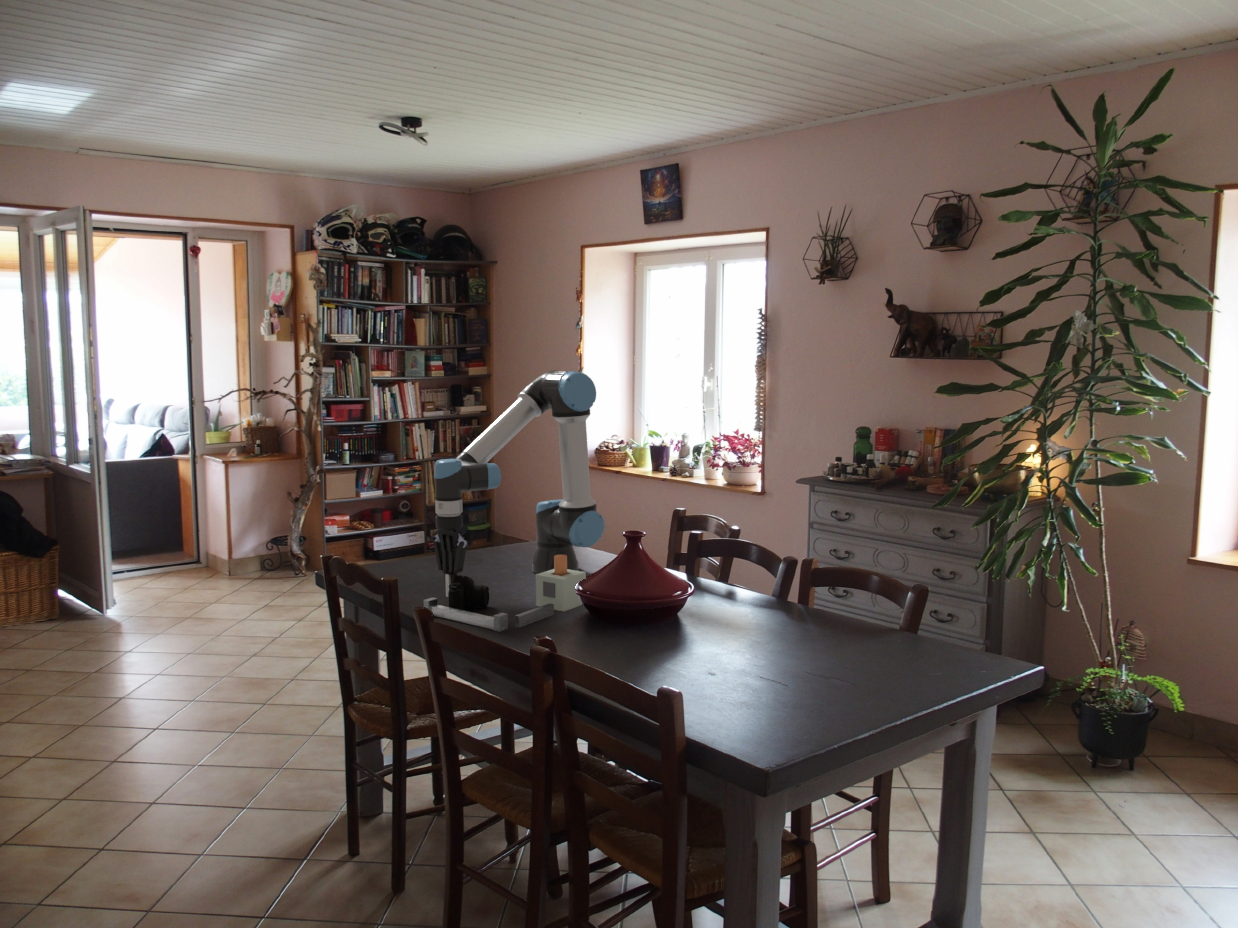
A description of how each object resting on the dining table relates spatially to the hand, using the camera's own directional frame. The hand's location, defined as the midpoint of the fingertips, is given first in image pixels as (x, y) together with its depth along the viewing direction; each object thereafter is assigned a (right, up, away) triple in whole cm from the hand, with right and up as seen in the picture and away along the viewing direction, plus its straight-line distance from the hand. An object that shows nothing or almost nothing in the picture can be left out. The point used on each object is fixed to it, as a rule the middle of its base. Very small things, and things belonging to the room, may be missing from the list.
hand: (451, 595), depth 269 cm
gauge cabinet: (+31, -2, -3) cm, 32 cm away
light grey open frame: (+12, -4, -12) cm, 17 cm away
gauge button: (+31, +6, -4) cm, 32 cm away
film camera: (+6, -3, -5) cm, 9 cm away
